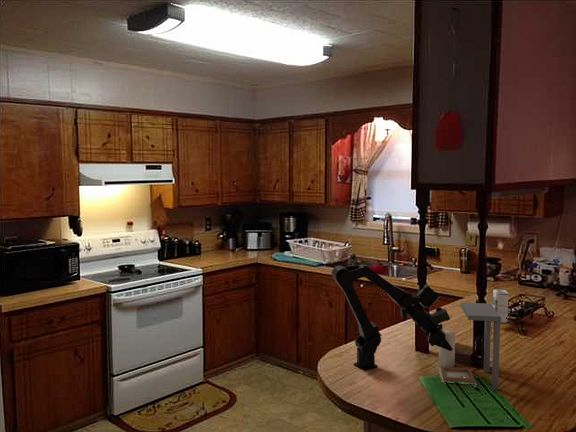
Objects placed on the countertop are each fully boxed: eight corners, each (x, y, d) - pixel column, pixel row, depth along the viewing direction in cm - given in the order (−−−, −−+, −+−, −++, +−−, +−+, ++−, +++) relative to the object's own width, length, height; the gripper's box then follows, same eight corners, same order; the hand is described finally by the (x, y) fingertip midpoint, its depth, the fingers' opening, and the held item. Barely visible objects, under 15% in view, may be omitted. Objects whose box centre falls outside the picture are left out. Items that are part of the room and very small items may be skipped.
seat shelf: (443, 386, 170) (444, 314, 168) (438, 367, 186) (439, 301, 184) (498, 390, 167) (501, 316, 165) (488, 370, 183) (490, 303, 180)
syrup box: (491, 319, 244) (492, 289, 243) (504, 319, 243) (505, 289, 242) (494, 322, 238) (495, 292, 237) (508, 323, 238) (509, 292, 236)
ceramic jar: (435, 363, 190) (435, 332, 189) (446, 360, 193) (446, 329, 192) (446, 368, 185) (447, 336, 184) (457, 365, 188) (458, 333, 187)
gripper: (439, 309, 178) (471, 341, 177) (434, 295, 197) (463, 325, 196) (415, 330, 180) (447, 362, 180) (412, 315, 199) (441, 344, 198)
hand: (450, 347), depth 188 cm, fingers closed on ceramic jar, 6 cm apart
